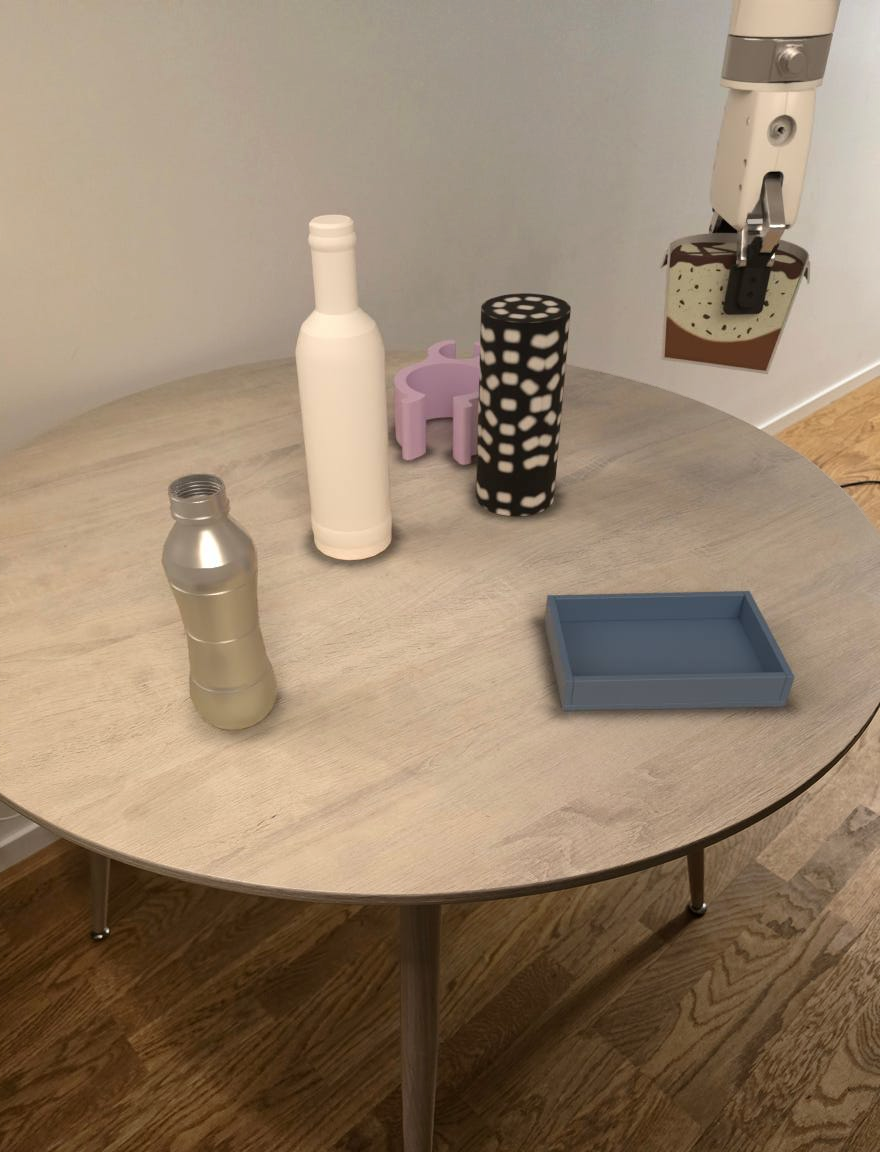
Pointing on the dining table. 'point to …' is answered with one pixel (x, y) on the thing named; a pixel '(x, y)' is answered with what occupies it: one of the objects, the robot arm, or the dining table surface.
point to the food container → (699, 298)
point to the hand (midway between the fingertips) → (729, 296)
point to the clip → (438, 400)
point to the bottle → (343, 403)
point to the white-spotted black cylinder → (520, 401)
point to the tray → (664, 651)
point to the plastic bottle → (218, 604)
